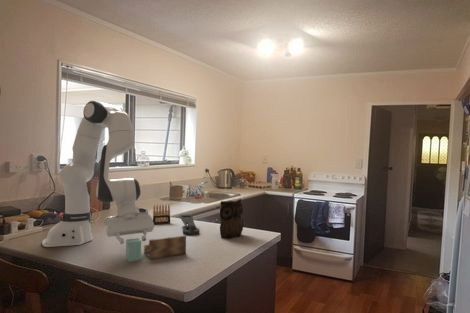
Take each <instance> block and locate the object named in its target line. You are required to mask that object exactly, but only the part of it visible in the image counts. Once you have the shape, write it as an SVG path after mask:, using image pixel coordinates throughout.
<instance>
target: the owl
mask: <svg viewBox="0 0 470 313" xmlns="http://www.w3.org/2000/svg"><path fill="white" fill-rule="evenodd" d="M219 205H220V208H219V217H220V218H219V219H220V223H219V224H220V225H219V233H220V238H221V239H222V240H224V239H226V240H230V239H235V238H236V239H237V238H240V237H241V236H242V232H243V229H244V226H245V224H244V219H243V218H242V216H243V213H244V206H243V204H242V198H238V199H229V200H225V201H224V200H221V201H220V204H219Z"/></svg>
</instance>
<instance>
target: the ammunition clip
mask: <svg viewBox="0 0 470 313" xmlns="http://www.w3.org/2000/svg"><path fill="white" fill-rule="evenodd" d="M152 210H153V211H152V220H153V223H154V225H164V224H166V225H169V224H171V207H170V204H169V203H168V205H167V204H165V205H164V204H159V205H158V204H154V205H153V209H152Z"/></svg>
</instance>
